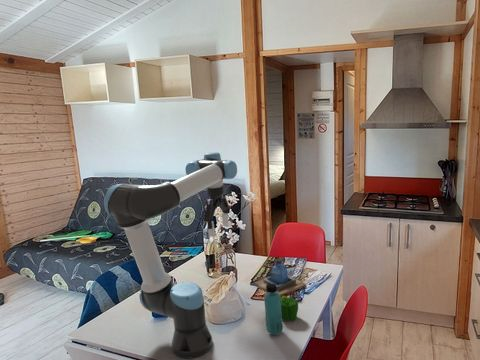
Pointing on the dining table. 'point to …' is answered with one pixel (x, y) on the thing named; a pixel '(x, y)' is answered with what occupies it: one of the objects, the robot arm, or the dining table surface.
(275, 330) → the beverage bottle
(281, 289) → the walnut stand
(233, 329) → the dining table surface
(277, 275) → the perfume bottle
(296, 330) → the dining table surface
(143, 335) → the dining table surface
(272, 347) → the dining table surface
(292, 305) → the bell pepper
